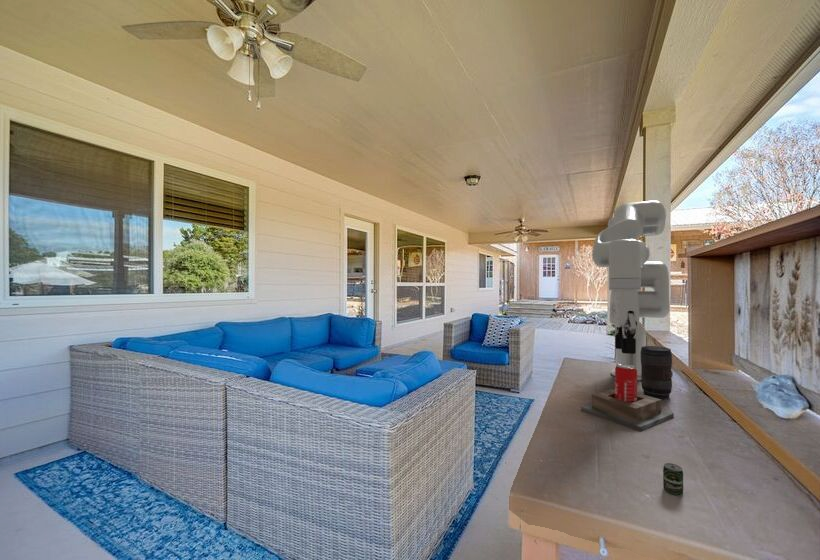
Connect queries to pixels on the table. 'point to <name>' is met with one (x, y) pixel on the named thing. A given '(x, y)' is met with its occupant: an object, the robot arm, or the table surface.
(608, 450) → the table surface
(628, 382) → the beverage can
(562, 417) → the table surface
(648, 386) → the camera lens
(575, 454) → the table surface
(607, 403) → the can holder
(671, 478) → the beer can
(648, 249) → the robot arm
